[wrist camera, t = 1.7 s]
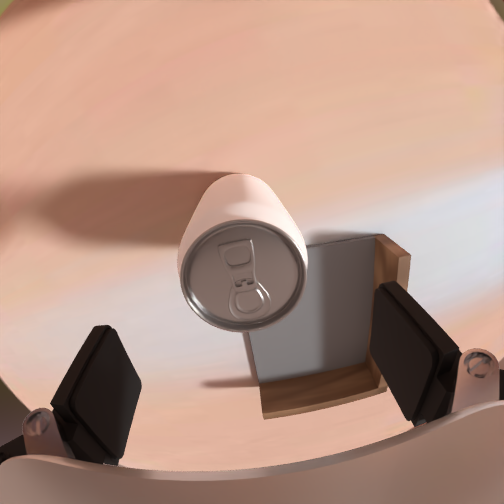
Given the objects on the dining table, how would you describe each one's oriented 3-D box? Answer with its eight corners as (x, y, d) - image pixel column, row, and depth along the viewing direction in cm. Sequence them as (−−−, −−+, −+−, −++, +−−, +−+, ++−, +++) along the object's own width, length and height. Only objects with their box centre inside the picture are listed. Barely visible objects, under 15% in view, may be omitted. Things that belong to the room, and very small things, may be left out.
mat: (234, 257, 25) (234, 260, 25) (383, 234, 25) (386, 235, 25) (260, 386, 32) (260, 389, 31) (371, 363, 32) (372, 365, 31)
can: (210, 255, 25) (195, 349, 14) (190, 182, 22) (150, 229, 11) (284, 239, 25) (322, 323, 14) (269, 164, 22) (306, 194, 11)
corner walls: (234, 257, 25) (235, 286, 21) (383, 234, 25) (411, 255, 21) (260, 386, 32) (263, 419, 27) (371, 363, 32) (386, 391, 27)
